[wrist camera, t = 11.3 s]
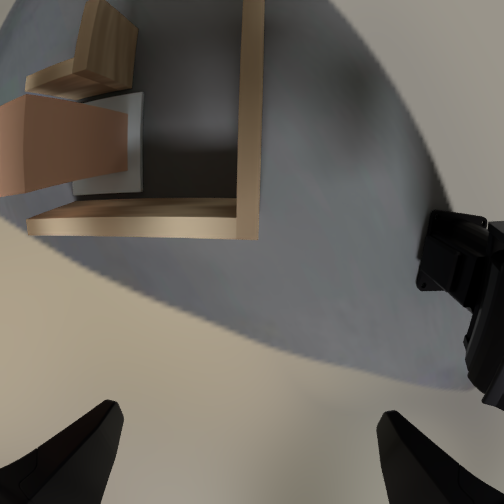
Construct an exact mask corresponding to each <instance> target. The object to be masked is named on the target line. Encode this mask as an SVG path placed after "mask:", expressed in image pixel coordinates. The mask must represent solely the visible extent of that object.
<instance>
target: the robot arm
mask: <svg viewBox="0 0 504 504" xmlns="http://www.w3.org/2000/svg"><path fill="white" fill-rule="evenodd" d="M436 215H437V219H435V216H436ZM482 222H483V223H482ZM486 227H487V219H486V218H484V217H482V216H476V215H469V214H462V213H456V212H449V211H442V210H433V211H432V212H431V214H430V219H429V226H428V232H427V237H426V240H425V245H424V250H423V255H422V260H421V265H420V272H419V276H418V280H417V288H418V289H419V290H420V291H446V292H448V293H449V294H450V295H451V296H452V297H453V298H454V299H455V300H457V301H458V302H459V303H460V304H461V305H462V306H463V307H465V308H467V309H468V310H469V311H470V312H471V313H472V314H473V315H472V319H471V322H470V326H469V329H468V332H467V334H466V335H465V337H464V341H463V343H464V346H465V349H466V357H465V361H466V365H467V369H468V371H469V372H468V375H467V376H468V378H469V379H470V381H471V382H472V384H473V385H474V386H475V387H476V388H477V389H478V390H479V391H481V392H482V393H484V394H485V395H484V397H483V399H482V403H484V404H487V405H491V406H495V407H497V408H499V409H501V410H503V411H504V221H495V222H488V230H487V229H486ZM423 283H424V285H423V286H421V285H422V284H423ZM123 422H124V417H123V414H122V411H121V409H120V407H119V404H118V403H117V402H115V401H112V400H104V401H103V402H102V403H100V404H99V405H97V406H96V407H95V408H93V409H92V410H91V411H89V412H88V413H87V414H85V415H84V416H82V417H81V418H79V419H78V420H77V421H75V422H74V423H72V424H71V425H69V426H68V427H67V428H65V429H64V430H62V431H61V432H59V433H58V434H57V435H55V436H54V437H52V438H51V439H49V440H48V441H46V442H45V443H43V444H42V445H41V446H39V447H38V449H34V450H33V451H32V452H30V453H29V454H27V455H25V456H24V457H22V458H20V459H19V460H17V461H15V462H13V463H11V464H9V465H7V466H5V467H3V468H0V504H101V500H102V497H103V494H104V491H105V488H106V485H107V481H108V478H109V475H110V472H111V469H112V466H113V463H114V461H115V457H116V454H117V449H118V445H119V440H120V435H121V431H122V426H123ZM376 431H377V438H378V446H379V454H380V462H381V468H382V473H383V477H384V481H385V486H386V490H387V495H388V499H389V504H504V494H503V493H501V492H500V491H498V490H496V489H495V488H493V487H491V486H489V485H488V484H486V483H485V482H483V481H481V480H480V479H478V478H477V477H475V476H474V475H473V474H471V473H470V472H469V471H467V470H466V469H465V468H464V467H462V466H461V465H459V463H457V462H456V461H455V460H454V459H453V458H451V457H450V456H449V455H448V454H447V453H446V452H444V451H443V450H442V449H441V448H439V447H438V446H437V445H436V444H435V443H433V442H432V441H431V440H430V439H429V438H428V437H426V436H425V435H424V434H423V433H422V432H420V431H419V430H418V429H417V428H416V427H415V426H414V425H412V424H411V423H410V422H409V421H408V420H407V419H406V418H404V417H403V416H402V415H401V414H400V413H399V412H397V411H395V410H392V411H387V412H384V413H383V415H382V417H381V419H380V421H379V423H378V425H377V430H376Z"/></svg>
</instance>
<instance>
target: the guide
mask: <svg viewBox="0 0 504 504" xmlns="http://www.w3.org/2000/svg"><path fill="white" fill-rule="evenodd" d="M264 7H265V0H243V15H242V36H241V61H240V89H239V121H238V162H237V198H135V199H107V200H86V201H75V202H72V203H69V204H67V205H64V206H61V207H58V208H55V209H52V210H50V211H47V212H44V213H42V214H39V215H36V216H34V217H31V218H29V219H26V223H27V230H28V235H55V236H125V237H171V238H208V239H241V240H258V230H259V199H260V167H261V132H262V95H263V54H264ZM137 36H138V28H137V27H136V26H134V25H133V24H132V23H131V22H130V21H129V20H128V19H126V18H125V17H124V16H123V15H122V14H121V13H120V12H118V11H117V10H116V9H115V8H114V7H113V6H111V5H110V4H109V3H108V2H107V1H105V0H89V1H87V2H86V4H85V8H84V12H83V16H82V20H81V25H80V29H79V34H78V39H77V44H76V50H75V56H74V58H71V59H69V60H66V61H63V62H60V63H58V64H55V65H53V66H50V67H48V68H45V69H43V70H41V71H38V72H36V73H34V74H31V75H29V76H27V79H26V86H25V91H26V92H33V93H39V94H45V95H51V96H57V97H62V98H68V99H73V100H79V99H83V98H87V97H91V96H95V95H100V94H105V93H109V92H114V91H120V90H125V89H131V88H132V81H133V69H134V60H135V51H136V43H137ZM82 104H87V105H92V106H97V107H101V108H106V109H110V110H114V111H118V112H122V113H126V114H128V142H127V153H128V171H123V172H117V173H111V174H106V175H101V176H96V177H91V178H86V179H81V180H76V181H72V182H73V196H74V195H89V194H105V193H126V192H142V191H143V159H142V146H143V108H144V93H143V92H138V93H131V94H125V95H120V96H114V97H109V98H104V99H99V100H95V101H90V102H86V103H82Z"/></svg>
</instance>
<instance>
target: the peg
mask: <svg viewBox="0 0 504 504" xmlns="http://www.w3.org/2000/svg"><path fill="white" fill-rule="evenodd" d="M127 142H128V114H126V113H122V112H118V111H114V110H110V109H106V108H101V107H97V106H92V105H87V104H82V103H77V102H72V101H67V100H61V99H55V98H49V97H43V96H36V95H29V94H26V95H23V96H21V97H19V98H16V99H14V100H12V101H10V102H8V103H6V104H4V105H2V106H0V197H3V196H9V195H16V194H22V193H27V192H31V191H35V190H39V189H42V188H46V187H50V186H54V185H59V184H63V183H67V182H72V181H76V180H81V179H86V178H91V177H96V176H101V175H106V174H111V173H117V172H123V171H128V153H127Z"/></svg>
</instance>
